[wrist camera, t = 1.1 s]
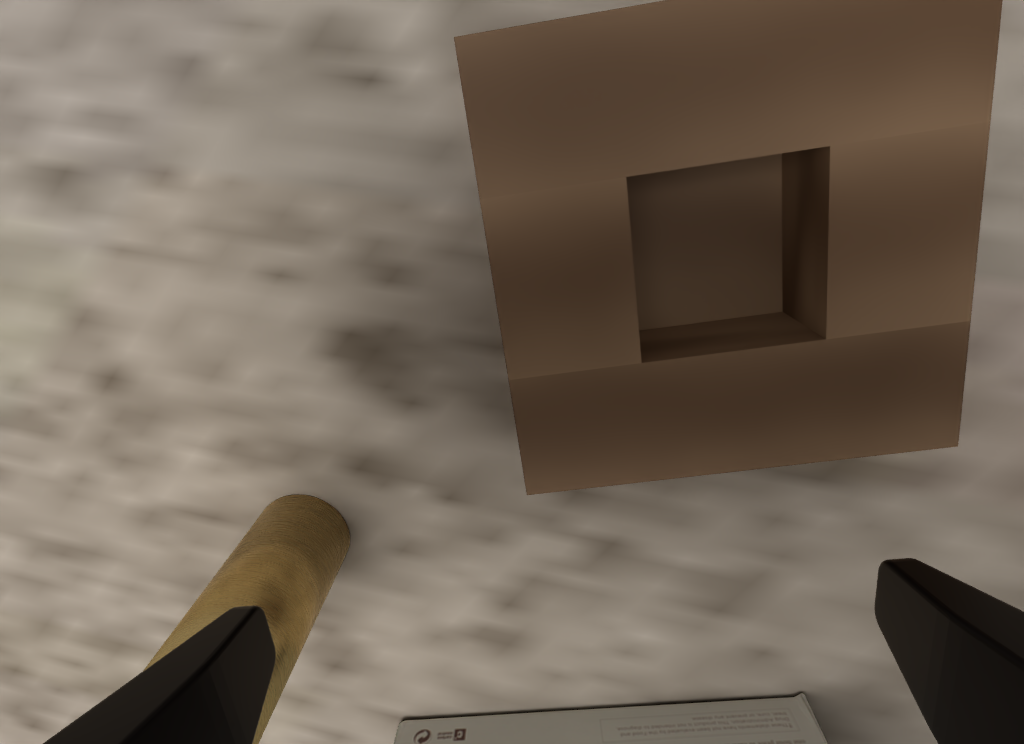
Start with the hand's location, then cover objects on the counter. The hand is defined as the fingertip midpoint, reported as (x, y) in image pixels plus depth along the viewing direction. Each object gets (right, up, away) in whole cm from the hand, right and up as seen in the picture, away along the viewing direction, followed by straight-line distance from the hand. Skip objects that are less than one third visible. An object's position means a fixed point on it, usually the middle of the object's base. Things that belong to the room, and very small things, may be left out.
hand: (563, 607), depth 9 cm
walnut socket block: (+5, +8, +10) cm, 14 cm away
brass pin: (-9, -3, +14) cm, 17 cm away
